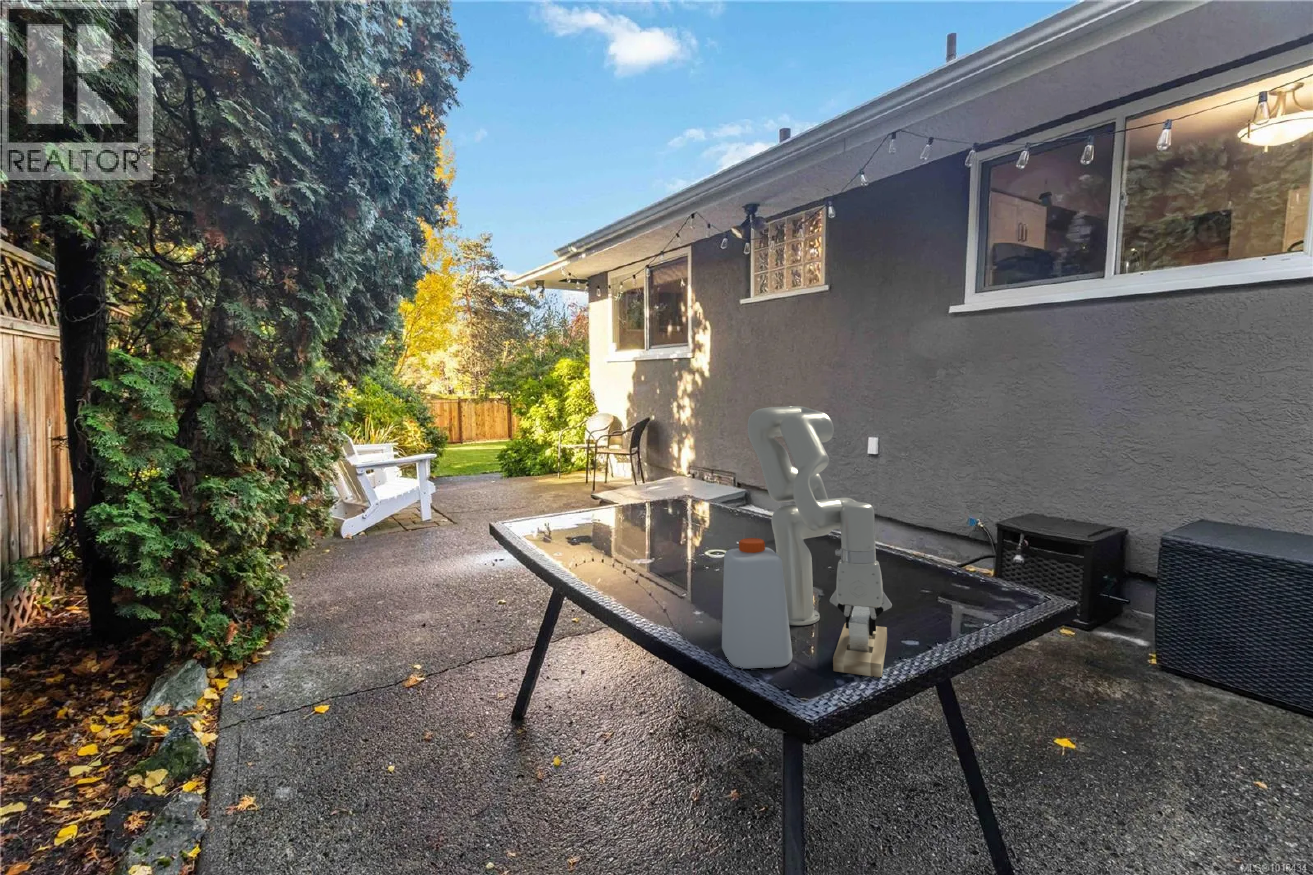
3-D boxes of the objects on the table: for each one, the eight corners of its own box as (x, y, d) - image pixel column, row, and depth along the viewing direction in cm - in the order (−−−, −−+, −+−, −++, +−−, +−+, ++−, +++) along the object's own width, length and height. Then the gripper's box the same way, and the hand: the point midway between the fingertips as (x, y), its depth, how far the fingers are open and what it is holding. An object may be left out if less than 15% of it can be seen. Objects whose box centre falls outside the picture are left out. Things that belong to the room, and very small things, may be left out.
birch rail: (833, 671, 128) (833, 657, 128) (845, 634, 148) (844, 622, 148) (881, 677, 124) (881, 664, 124) (887, 639, 144) (886, 627, 144)
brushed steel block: (849, 657, 131) (848, 622, 131) (855, 637, 142) (854, 605, 142) (868, 659, 130) (867, 624, 129) (872, 639, 141) (871, 607, 140)
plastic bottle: (797, 668, 131) (793, 545, 129) (731, 673, 130) (726, 550, 128) (778, 641, 146) (773, 531, 145) (719, 646, 145) (714, 535, 143)
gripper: (819, 557, 135) (822, 634, 136) (896, 562, 128) (899, 643, 129) (824, 550, 142) (826, 623, 143) (897, 553, 135) (900, 631, 136)
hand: (861, 631), depth 136 cm, fingers closed on brushed steel block, 3 cm apart
